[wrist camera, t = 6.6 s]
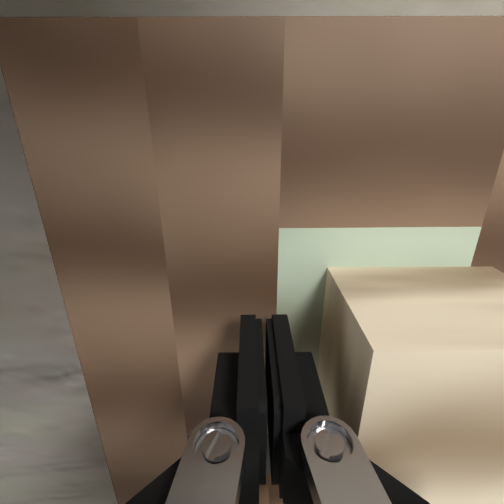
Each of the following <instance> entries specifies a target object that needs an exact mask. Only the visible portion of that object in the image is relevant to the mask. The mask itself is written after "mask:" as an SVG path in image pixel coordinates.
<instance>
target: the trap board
mask: <svg viewBox="0 0 504 504" xmlns="http://www.w3.org/2000/svg"><path fill="white" fill-rule="evenodd" d="M0 65H1V69H2V73H3V76H4V80H5V84H6V87H7V91H8V95H9V99H10V102H11V106H12V110H13V114H14V117H15V121H16V125H17V129H18V132H19V136H20V140H21V143H22V147H23V151H24V155H25V158H26V162H27V166H28V170H29V173H30V177H31V181H32V184H33V188H34V192H35V196H36V199H37V203H38V207H39V211H40V214H41V218H42V222H43V225H44V229H45V233H46V237H47V240H48V244H49V248H50V252H51V255H52V259H53V263H54V267H55V270H56V274H57V278H58V281H59V285H60V289H61V293H62V296H63V300H64V304H65V308H66V311H67V315H68V319H69V322H70V326H71V330H72V334H73V337H74V341H75V345H76V349H77V352H78V356H79V360H80V363H81V367H82V371H83V375H84V378H85V382H86V386H87V390H88V393H89V397H90V401H91V404H92V408H93V412H94V416H95V419H96V423H97V427H98V431H99V434H100V438H101V442H102V446H103V449H104V453H105V457H106V460H107V464H108V468H109V472H110V475H111V479H112V483H113V487H114V490H115V494H116V498H117V501H118V504H125V503H126V502H128V501H129V500H130V499H131V498H132V497H134V496H135V495H136V494H137V493H138V492H140V491H141V490H142V489H143V488H144V487H146V486H147V485H148V484H149V483H151V482H152V481H153V480H154V479H155V478H157V477H158V476H159V475H160V474H161V473H163V472H164V471H165V470H166V469H167V468H169V467H170V466H171V465H172V464H173V463H175V462H176V461H177V460H178V459H180V458H181V457H182V455H183V452H184V449H185V446H186V443H187V441H188V438H189V436H190V434H191V432H192V430H193V429H194V428H195V427H196V426H197V425H198V424H199V423H201V422H202V421H204V420H206V419H209V416H210V409H211V401H212V394H213V387H214V379H215V372H216V364H217V357H218V353H219V352H239V339H240V317H241V315H256V319H262V332H263V347H264V362H265V343H266V319H271V318H272V314H287V316H288V321H289V325H290V330H291V335H292V340H293V345H294V350H295V352H311V353H312V355H313V358H314V362H315V366H316V369H317V366H318V356H319V346H320V336H321V326H322V316H323V306H324V296H325V286H326V276H327V267H485V266H492V267H494V268H496V269H497V270H499V271H501V272H503V273H504V16H261V17H0ZM259 504H283V499H280V497H279V485H272V484H271V471H270V455H269V439H268V424H267V455H266V485H259Z"/></svg>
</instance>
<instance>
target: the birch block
mask: <svg viewBox="0 0 504 504" xmlns="http://www.w3.org/2000/svg"><path fill="white" fill-rule="evenodd" d="M317 373H318V376H319V380H320V383H321V387H322V391H323V394H324V398H325V401H326V405H327V408H328V412H329V416H331V417H335V418H338V419H340V420H341V421H343V422H345V423H346V424H347V425H348V426H350V427H351V428H352V430H353V431H354V432H355V434H356V435H357V437H358V439H359V441H360V443H361V445H362V447H363V449H364V451H365V453H366V454H367V456H368V458H369V460H371V461H372V462H374V463H375V464H376V465H378V466H379V467H380V468H382V469H383V470H385V471H386V472H387V473H389V474H390V475H392V476H393V477H394V478H396V479H397V480H398V481H400V482H401V483H403V484H404V485H405V486H407V487H408V488H410V489H411V490H412V491H414V492H415V493H416V494H418V495H419V496H421V497H422V498H423V499H425V500H426V501H428V502H429V503H430V504H504V273H503V272H501V271H499V270H497V269H496V268H494V267H492V266H485V267H327V276H326V286H325V296H324V306H323V316H322V326H321V336H320V346H319V356H318V366H317Z"/></svg>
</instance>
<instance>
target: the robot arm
mask: <svg viewBox="0 0 504 504" xmlns="http://www.w3.org/2000/svg"><path fill="white" fill-rule="evenodd" d="M267 424H268V439H269V455H270V471H271V484H272V485H279V497H280V499H283V504H430V503H429V502H428V501H426V500H425V499H423V498H422V497H421V496H419V495H418V494H416V493H415V492H414V491H412V490H411V489H410V488H408V487H407V486H405V485H404V484H403V483H401V482H400V481H398V480H397V479H396V478H394V477H393V476H392V475H390V474H389V473H387V472H386V471H385V470H383V469H382V468H380V467H379V466H378V465H376V464H375V463H374V462H372V461H371V460H369V458H368V456H367V454H366V453H365V451H364V449H363V447H362V445H361V443H360V441H359V439H358V437H357V435H356V434H355V432H354V431H353V430H352V428H351V427H350V426H348V425H347V424H346V423H345V422H343V421H341V420H340V419H338V418H335V417H331V416H329V412H328V408H327V405H326V401H325V398H324V394H323V391H322V387H321V383H320V380H319V376H318V373H317V369H316V366H315V362H314V358H313V355H312V353H311V352H295V350H294V345H293V340H292V335H291V330H290V325H289V321H288V316H287V314H272V318H271V319H266V343H265V362H264V347H263V332H262V319H256V315H241V317H240V339H239V352H219V353H218V357H217V364H216V372H215V379H214V387H213V394H212V401H211V409H210V416H209V419H206V420H204V421H202V422H201V423H199V424H198V425H197V426H196V427H195V428H194V429H193V430H192V432H191V434H190V436H189V438H188V441H187V443H186V446H185V449H184V452H183V455H182V457H181V458H180V459H178V460H177V461H176V462H175V463H173V464H172V465H171V466H170V467H169V468H167V469H166V470H165V471H164V472H163V473H161V474H160V475H159V476H158V477H157V478H155V479H154V480H153V481H152V482H151V483H149V484H148V485H147V486H146V487H144V488H143V489H142V490H141V491H140V492H138V493H137V494H136V495H135V496H134V497H132V498H131V499H130V500H129V501H128V502H126V503H125V504H259V485H266V455H267Z"/></svg>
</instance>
